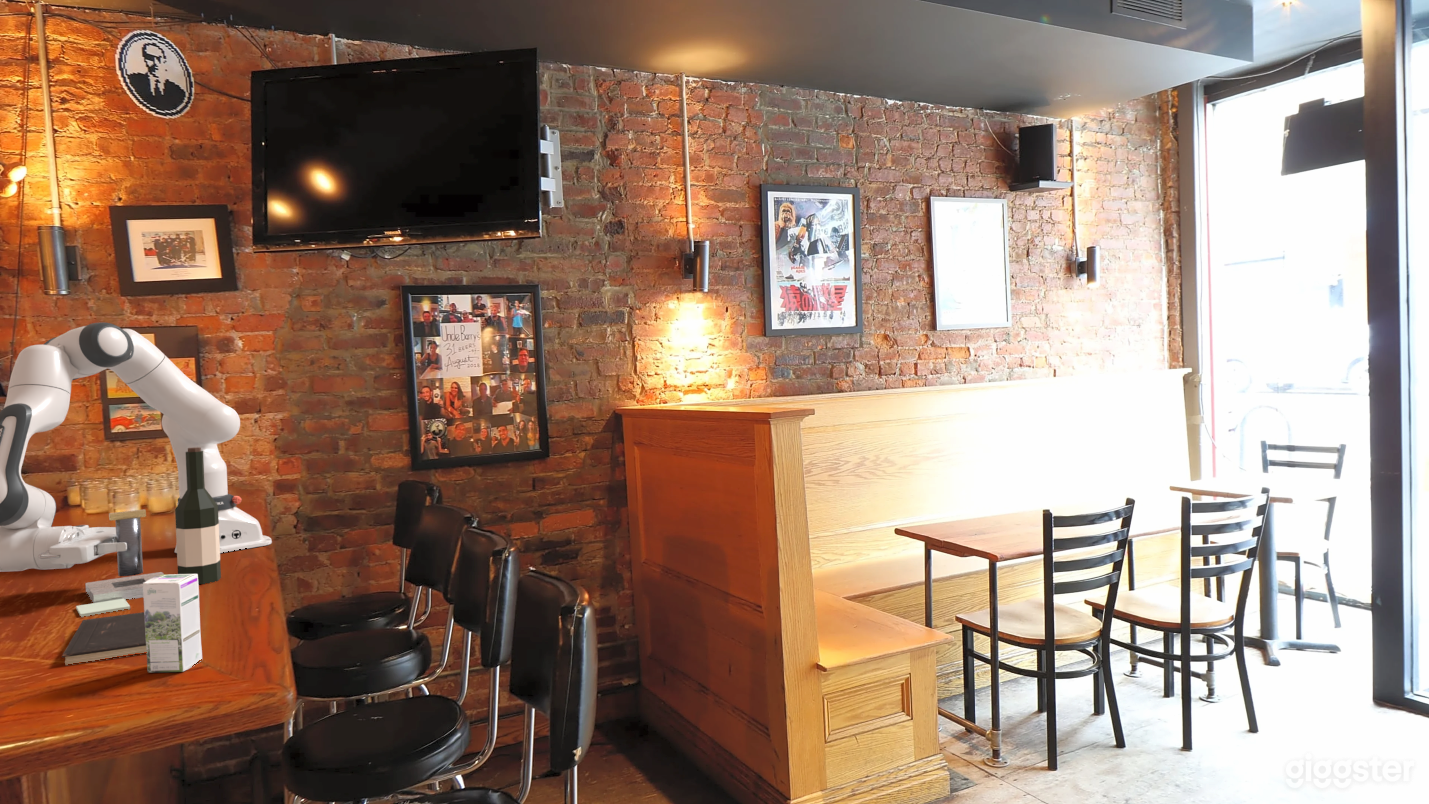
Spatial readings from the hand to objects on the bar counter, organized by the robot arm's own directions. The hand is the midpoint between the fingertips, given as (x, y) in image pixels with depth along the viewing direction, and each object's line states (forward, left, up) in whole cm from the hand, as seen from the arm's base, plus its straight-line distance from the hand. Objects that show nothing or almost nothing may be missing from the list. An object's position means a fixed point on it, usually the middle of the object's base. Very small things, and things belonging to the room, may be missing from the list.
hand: (133, 543), depth 186 cm
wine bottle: (-12, -1, -11) cm, 16 cm away
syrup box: (+3, +62, -11) cm, 63 cm away
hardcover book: (+6, +39, -11) cm, 41 cm away
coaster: (+7, +12, -11) cm, 17 cm away
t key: (+1, 0, -7) cm, 7 cm away
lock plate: (+1, 0, -11) cm, 11 cm away
